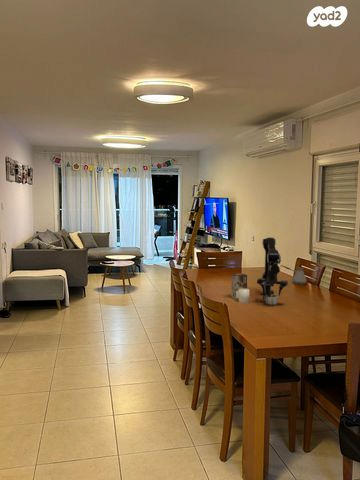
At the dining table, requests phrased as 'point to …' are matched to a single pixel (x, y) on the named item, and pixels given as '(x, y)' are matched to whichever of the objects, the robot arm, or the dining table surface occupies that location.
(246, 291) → the mug
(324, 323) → the dining table surface
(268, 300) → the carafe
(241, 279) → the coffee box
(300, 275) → the coffee pot
